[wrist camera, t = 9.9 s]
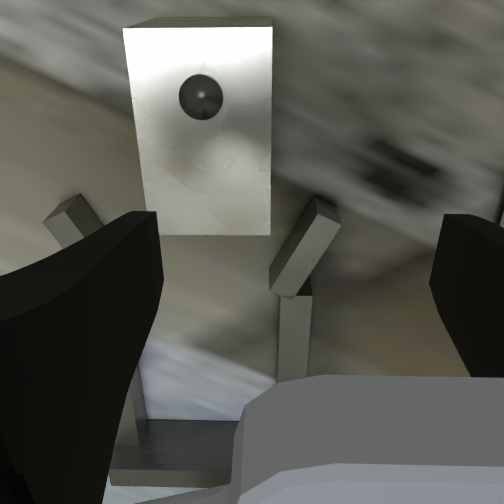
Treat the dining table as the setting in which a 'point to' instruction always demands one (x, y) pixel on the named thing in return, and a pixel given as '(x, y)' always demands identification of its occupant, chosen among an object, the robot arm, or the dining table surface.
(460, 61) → the dining table surface
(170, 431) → the socket
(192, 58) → the block
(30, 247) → the dining table surface
